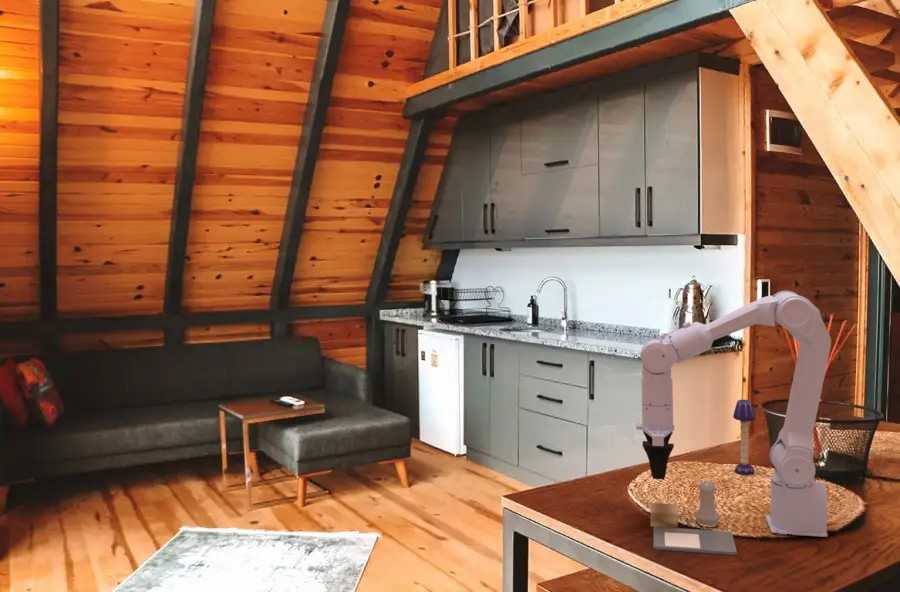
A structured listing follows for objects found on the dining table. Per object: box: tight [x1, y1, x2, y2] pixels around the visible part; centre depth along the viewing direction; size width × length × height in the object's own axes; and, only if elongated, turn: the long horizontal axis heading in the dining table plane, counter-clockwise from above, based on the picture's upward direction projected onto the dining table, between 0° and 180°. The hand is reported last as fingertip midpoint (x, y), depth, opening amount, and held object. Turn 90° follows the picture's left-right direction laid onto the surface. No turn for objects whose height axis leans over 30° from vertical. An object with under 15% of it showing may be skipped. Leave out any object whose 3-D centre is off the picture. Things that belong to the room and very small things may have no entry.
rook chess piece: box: [695, 480, 720, 526], centre depth 148 cm, size 4×4×8 cm
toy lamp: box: [732, 399, 756, 476], centre depth 176 cm, size 5×5×17 cm
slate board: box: [652, 526, 738, 556], centre depth 141 cm, size 14×9×1 cm, turn 75°
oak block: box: [650, 502, 679, 528], centre depth 150 cm, size 5×5×3 cm
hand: (658, 472), depth 150 cm, fingers open, 7 cm apart
